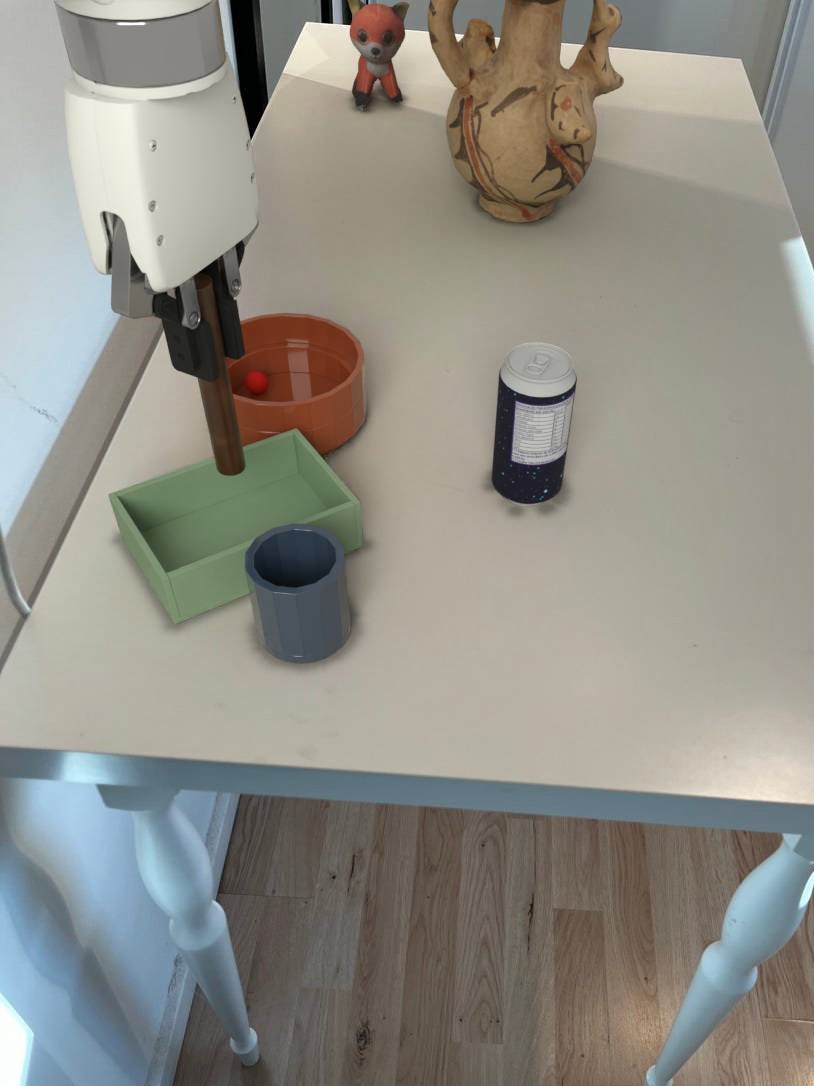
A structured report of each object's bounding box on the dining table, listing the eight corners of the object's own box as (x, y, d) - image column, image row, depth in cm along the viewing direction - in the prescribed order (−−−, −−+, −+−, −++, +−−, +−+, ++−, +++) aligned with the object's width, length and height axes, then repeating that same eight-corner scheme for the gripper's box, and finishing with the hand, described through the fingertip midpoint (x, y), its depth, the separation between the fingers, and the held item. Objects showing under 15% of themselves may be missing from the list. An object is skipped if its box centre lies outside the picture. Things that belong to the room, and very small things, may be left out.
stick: (224, 479, 67) (185, 293, 56) (212, 463, 68) (171, 277, 57) (250, 470, 68) (217, 284, 57) (238, 454, 69) (203, 269, 58)
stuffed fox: (411, 81, 132) (410, -22, 123) (409, 116, 125) (409, 9, 115) (355, 79, 131) (350, -24, 122) (350, 114, 124) (344, 7, 115)
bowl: (254, 486, 78) (243, 424, 73) (188, 400, 84) (175, 339, 80) (394, 434, 83) (393, 373, 78) (322, 357, 89) (316, 297, 85)
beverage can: (571, 479, 80) (590, 351, 71) (544, 521, 77) (561, 393, 67) (508, 458, 81) (519, 330, 72) (479, 498, 78) (487, 370, 69)
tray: (175, 624, 68) (161, 580, 65) (122, 539, 73) (107, 494, 70) (363, 546, 74) (360, 501, 70) (302, 472, 79) (296, 427, 76)
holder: (284, 678, 65) (272, 608, 60) (242, 616, 69) (227, 545, 63) (367, 640, 68) (363, 569, 63) (323, 582, 71) (315, 510, 66)
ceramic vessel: (575, 260, 103) (610, -14, 84) (404, 228, 106) (400, -45, 87) (609, 186, 114) (647, -69, 95) (454, 159, 117) (461, -95, 98)
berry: (248, 401, 84) (252, 387, 82) (239, 382, 84) (243, 367, 82) (269, 396, 85) (274, 383, 83) (260, 377, 85) (264, 363, 83)
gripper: (183, -21, 53) (234, 289, 67) (-37, 75, 44) (76, 412, 58) (300, 5, 51) (327, 319, 65) (97, 112, 42) (180, 452, 56)
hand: (209, 361), depth 61 cm, fingers closed on stick, 2 cm apart
